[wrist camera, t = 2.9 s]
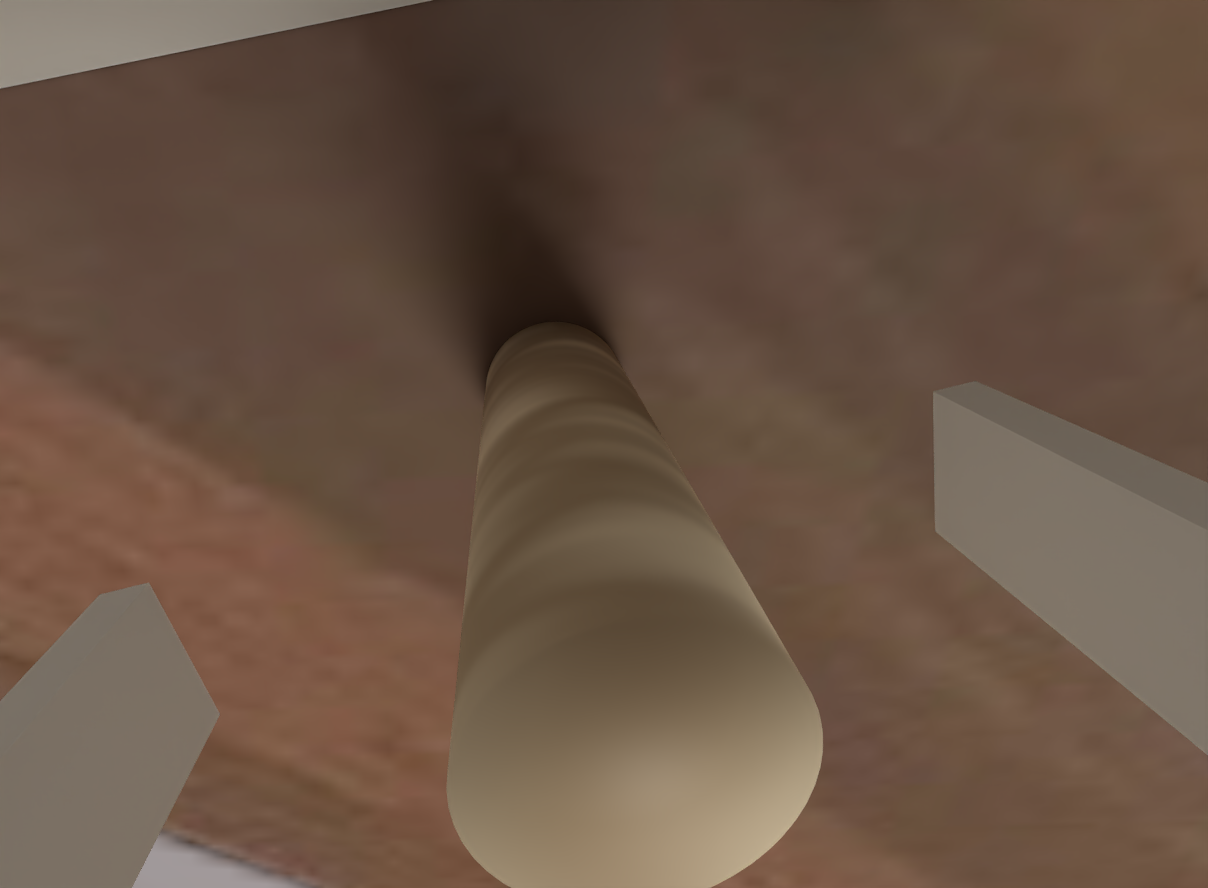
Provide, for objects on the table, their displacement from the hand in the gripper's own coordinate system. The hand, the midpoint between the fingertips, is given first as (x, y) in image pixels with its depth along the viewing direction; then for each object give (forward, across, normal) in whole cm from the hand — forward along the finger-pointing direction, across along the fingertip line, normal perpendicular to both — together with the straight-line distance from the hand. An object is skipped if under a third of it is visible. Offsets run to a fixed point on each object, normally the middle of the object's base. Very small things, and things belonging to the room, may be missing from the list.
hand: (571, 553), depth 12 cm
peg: (+9, 0, 0) cm, 9 cm away
